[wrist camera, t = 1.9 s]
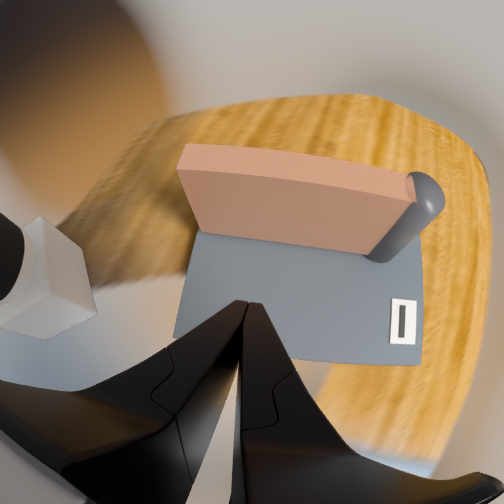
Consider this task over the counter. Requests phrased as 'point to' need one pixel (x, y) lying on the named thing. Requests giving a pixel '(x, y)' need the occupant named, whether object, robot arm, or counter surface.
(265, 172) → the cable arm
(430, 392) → the counter surface
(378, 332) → the label board
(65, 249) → the medicine bottle
